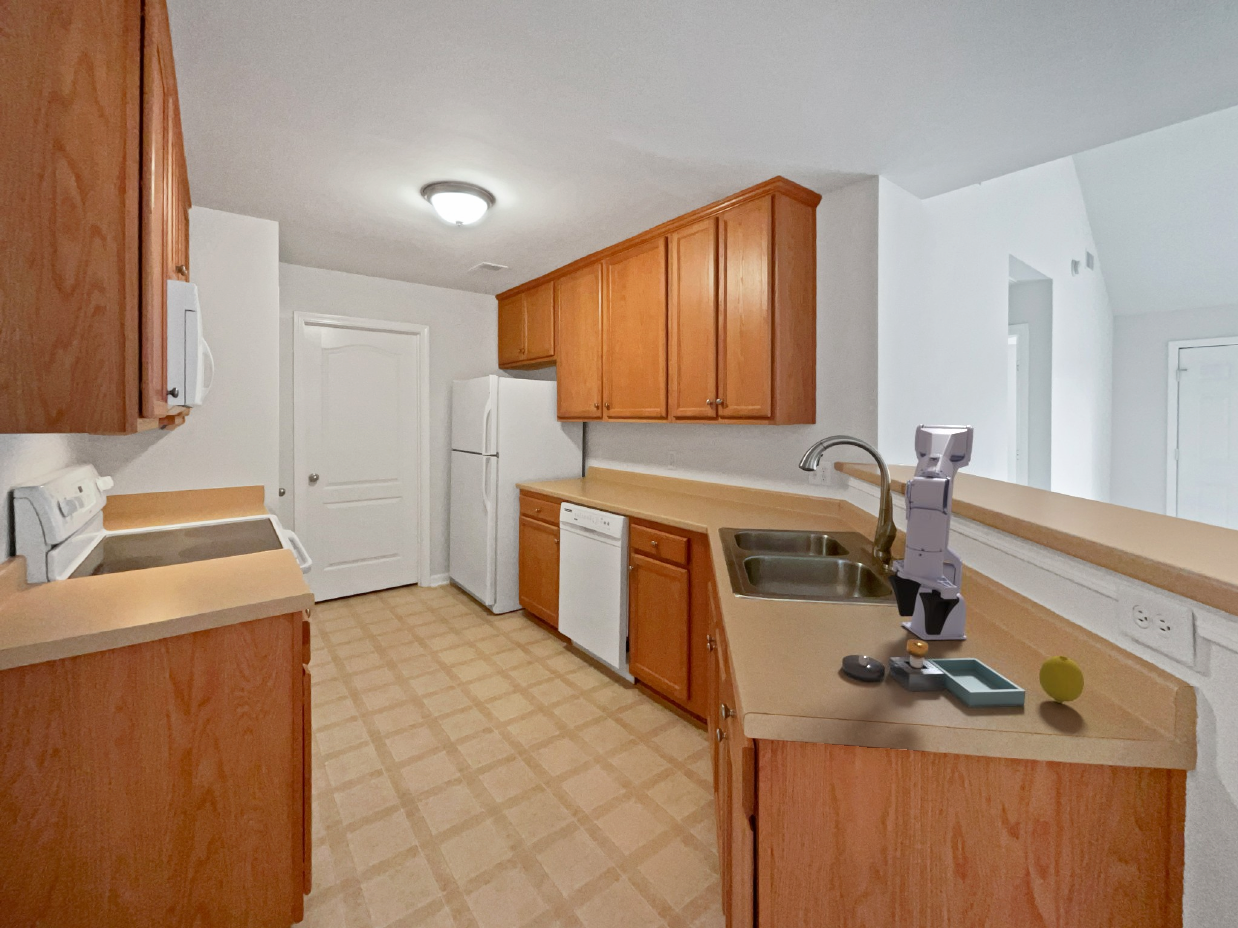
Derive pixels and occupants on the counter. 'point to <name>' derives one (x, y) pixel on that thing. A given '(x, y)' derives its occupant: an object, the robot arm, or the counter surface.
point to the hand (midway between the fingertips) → (918, 624)
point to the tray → (978, 683)
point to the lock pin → (917, 652)
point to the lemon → (1061, 679)
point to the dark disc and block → (894, 672)
